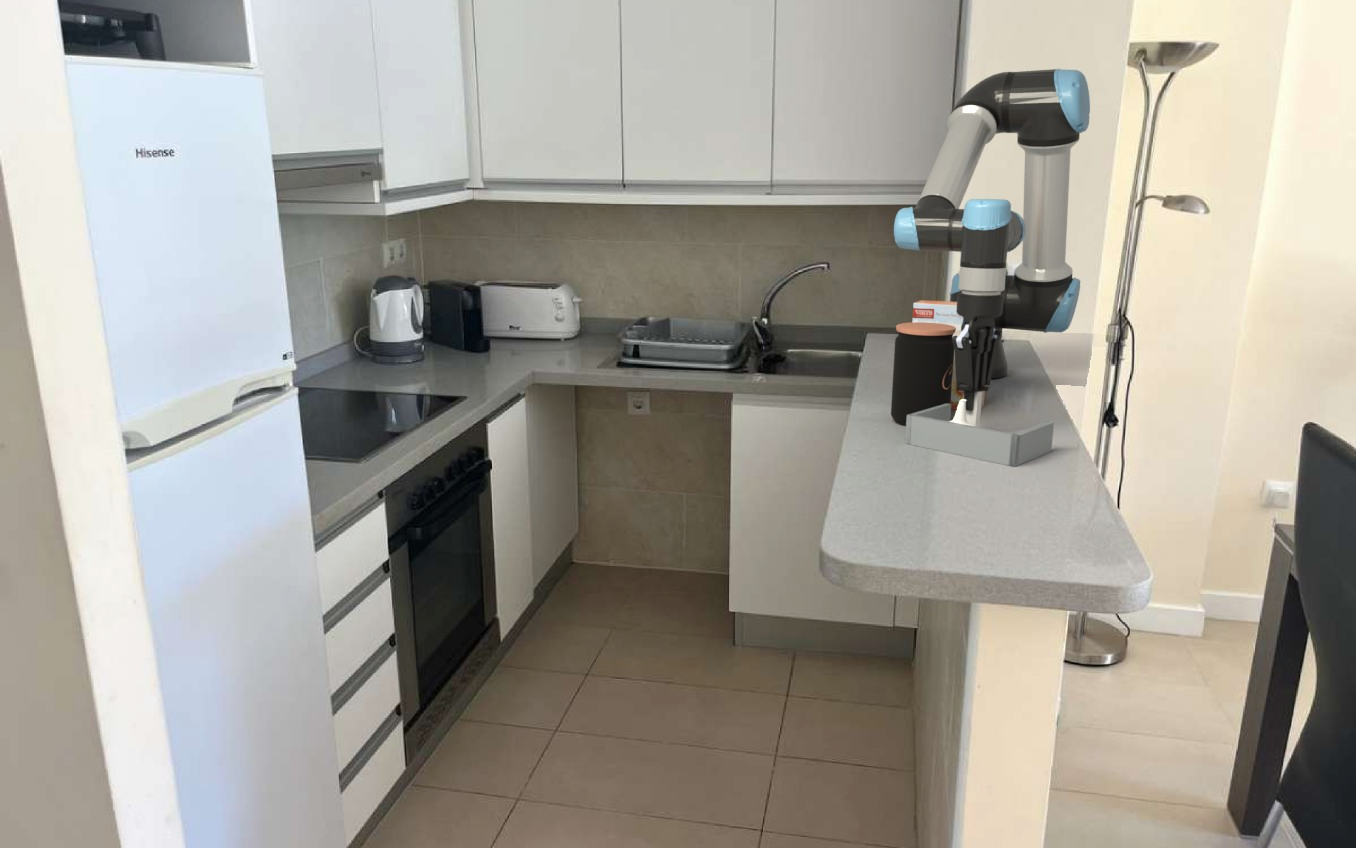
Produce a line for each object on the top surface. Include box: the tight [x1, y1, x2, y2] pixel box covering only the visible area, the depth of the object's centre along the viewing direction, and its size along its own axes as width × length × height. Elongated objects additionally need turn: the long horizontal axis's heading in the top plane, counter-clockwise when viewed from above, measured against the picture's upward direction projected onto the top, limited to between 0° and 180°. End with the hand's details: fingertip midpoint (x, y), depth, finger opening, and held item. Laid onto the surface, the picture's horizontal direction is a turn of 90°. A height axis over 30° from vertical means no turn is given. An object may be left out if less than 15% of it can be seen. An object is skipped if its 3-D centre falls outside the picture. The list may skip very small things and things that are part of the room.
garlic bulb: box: [949, 399, 973, 426], centre depth 171 cm, size 6×6×8 cm
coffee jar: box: [890, 322, 956, 427], centre depth 185 cm, size 11×11×18 cm
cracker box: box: [911, 299, 986, 410], centre depth 196 cm, size 14×6×21 cm, turn 61°
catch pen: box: [904, 403, 1055, 468], centre depth 169 cm, size 13×20×5 cm, turn 45°
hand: (970, 427), depth 175 cm, fingers closed
